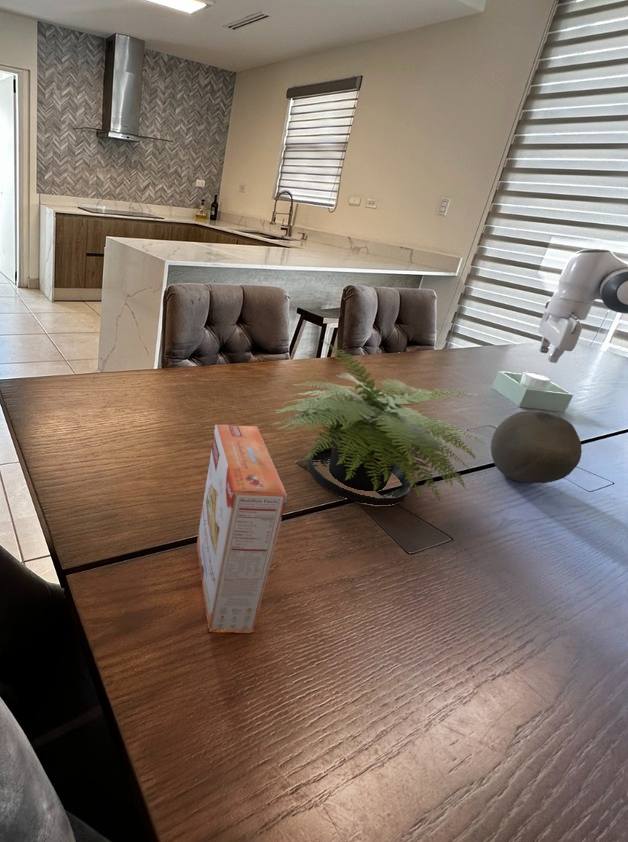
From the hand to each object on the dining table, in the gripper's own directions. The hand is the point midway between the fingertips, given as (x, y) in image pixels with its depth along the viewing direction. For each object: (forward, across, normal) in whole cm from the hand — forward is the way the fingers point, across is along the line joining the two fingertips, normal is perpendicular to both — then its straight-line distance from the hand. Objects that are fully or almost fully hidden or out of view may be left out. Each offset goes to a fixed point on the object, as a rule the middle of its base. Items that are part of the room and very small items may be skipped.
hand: (547, 357), depth 133 cm
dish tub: (+14, 0, 0) cm, 14 cm away
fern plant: (+13, -73, +43) cm, 86 cm away
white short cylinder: (+13, 0, 0) cm, 13 cm away
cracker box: (+13, -112, +58) cm, 126 cm away
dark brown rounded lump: (+14, -55, +13) cm, 58 cm away
